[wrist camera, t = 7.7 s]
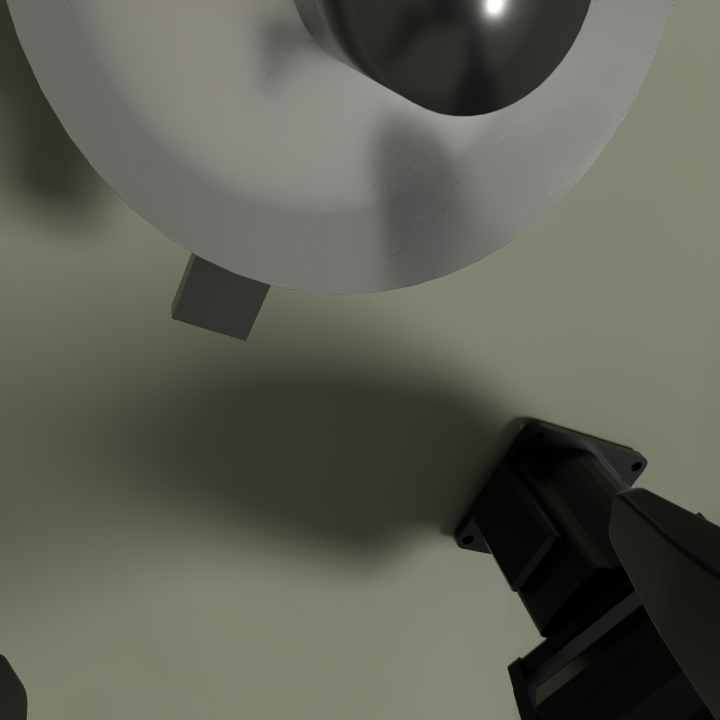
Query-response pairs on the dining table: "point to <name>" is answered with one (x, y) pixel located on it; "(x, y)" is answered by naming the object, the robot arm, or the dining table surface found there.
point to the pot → (218, 299)
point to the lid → (341, 121)
